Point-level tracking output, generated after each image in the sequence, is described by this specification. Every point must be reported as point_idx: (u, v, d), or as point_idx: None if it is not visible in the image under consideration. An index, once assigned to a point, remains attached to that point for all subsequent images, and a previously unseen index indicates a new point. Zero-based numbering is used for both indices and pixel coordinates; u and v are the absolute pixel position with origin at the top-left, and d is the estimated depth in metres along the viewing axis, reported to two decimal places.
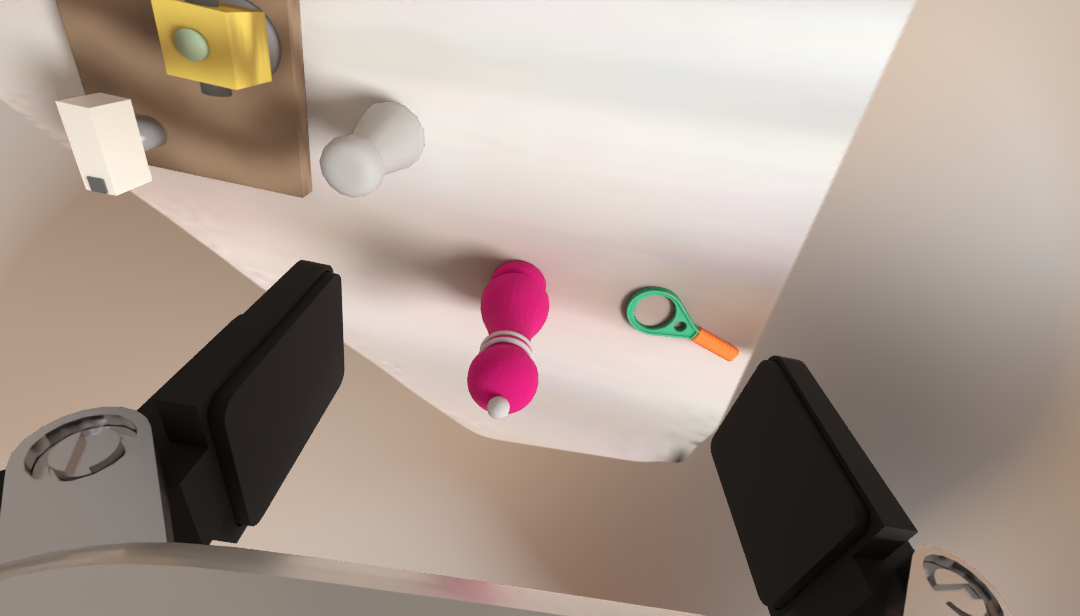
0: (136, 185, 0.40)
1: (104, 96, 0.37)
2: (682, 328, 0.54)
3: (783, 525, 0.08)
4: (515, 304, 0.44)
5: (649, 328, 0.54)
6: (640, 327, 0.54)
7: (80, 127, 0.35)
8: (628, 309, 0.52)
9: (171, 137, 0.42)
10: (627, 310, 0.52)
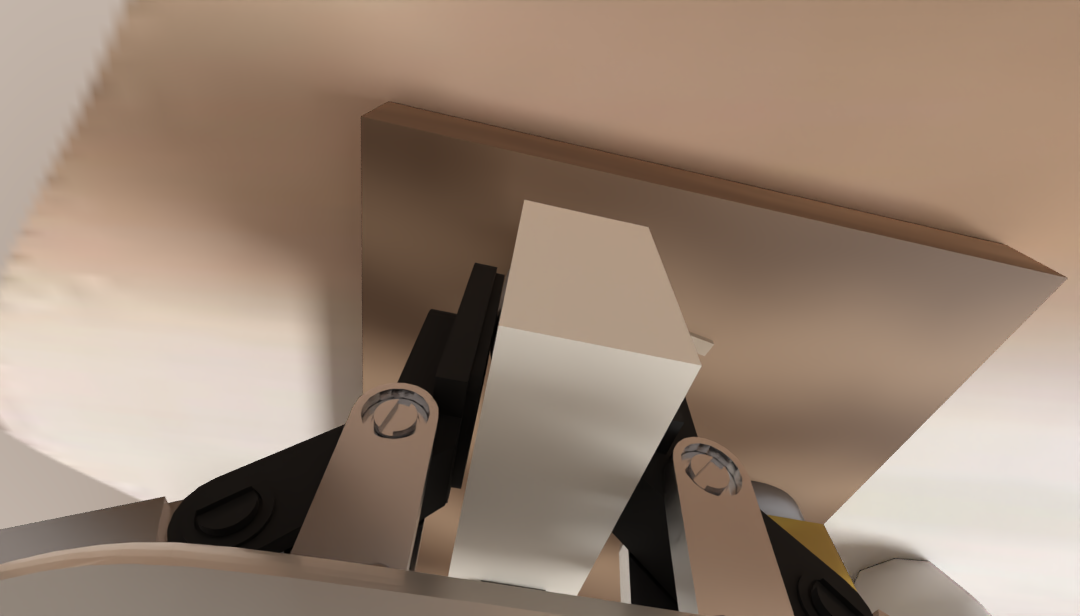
0: None
1: None
2: None
3: None
4: None
5: None
6: None
7: None
8: None
9: None
10: None
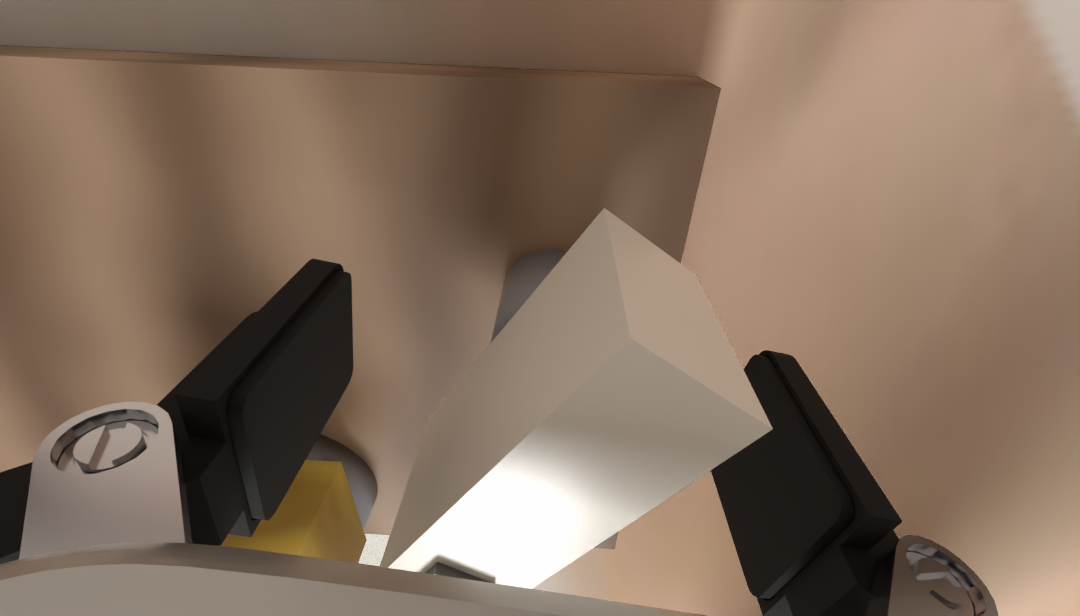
0: None
1: None
2: None
3: (773, 518, 0.08)
4: None
5: None
6: None
7: None
8: None
9: None
10: None
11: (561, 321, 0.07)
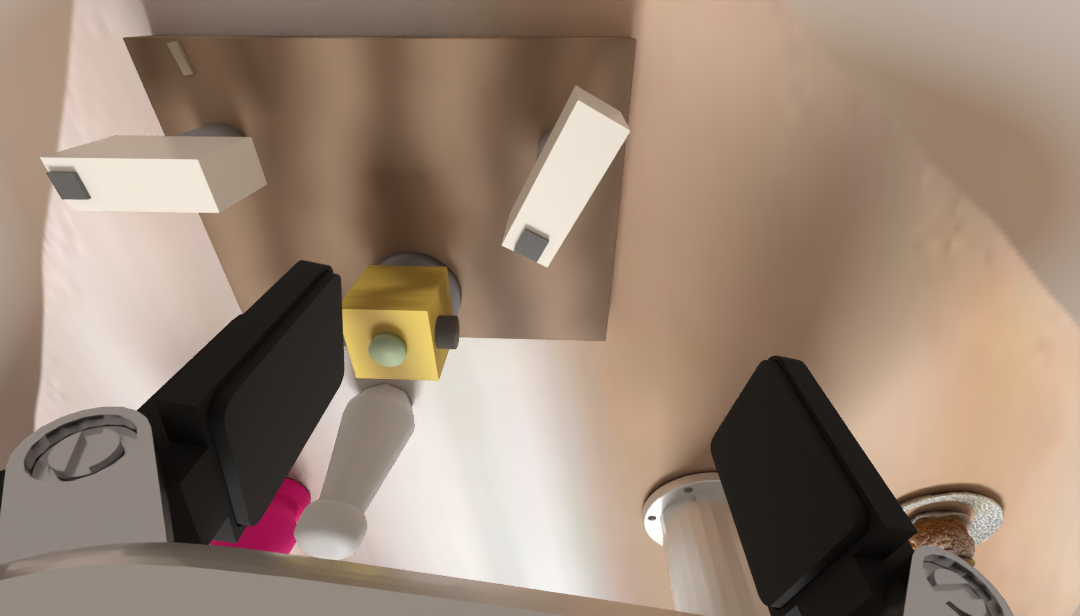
0: None
1: (249, 159, 0.23)
2: None
3: (784, 525, 0.08)
4: None
5: None
6: None
7: (172, 188, 0.20)
8: None
9: None
10: None
11: (561, 121, 0.20)
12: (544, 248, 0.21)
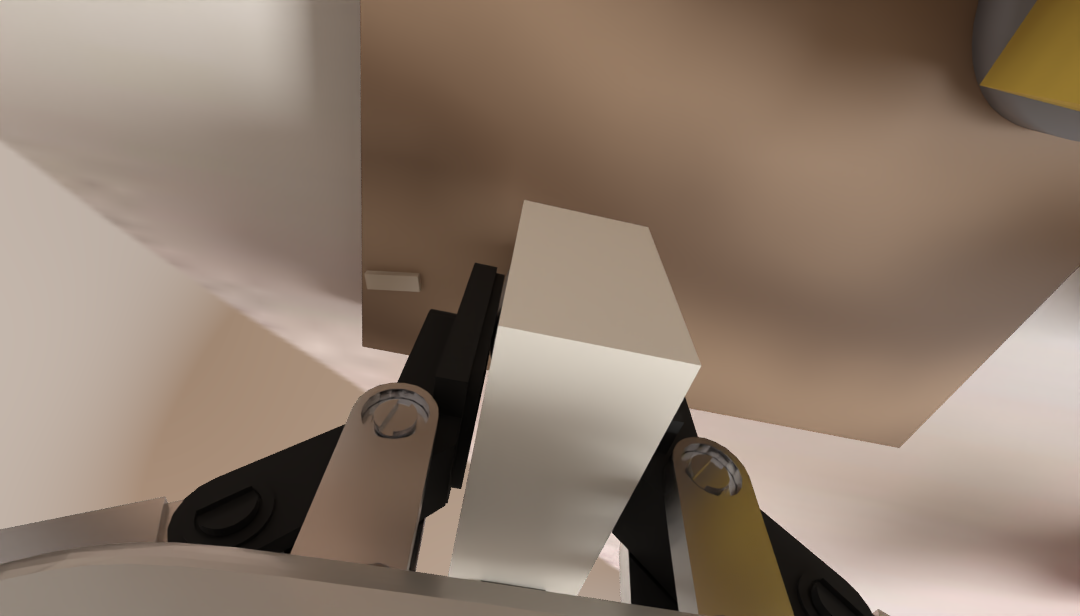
0: None
1: (572, 225, 0.08)
2: None
3: None
4: None
5: None
6: None
7: (571, 442, 0.06)
8: None
9: None
10: None
11: None
12: None
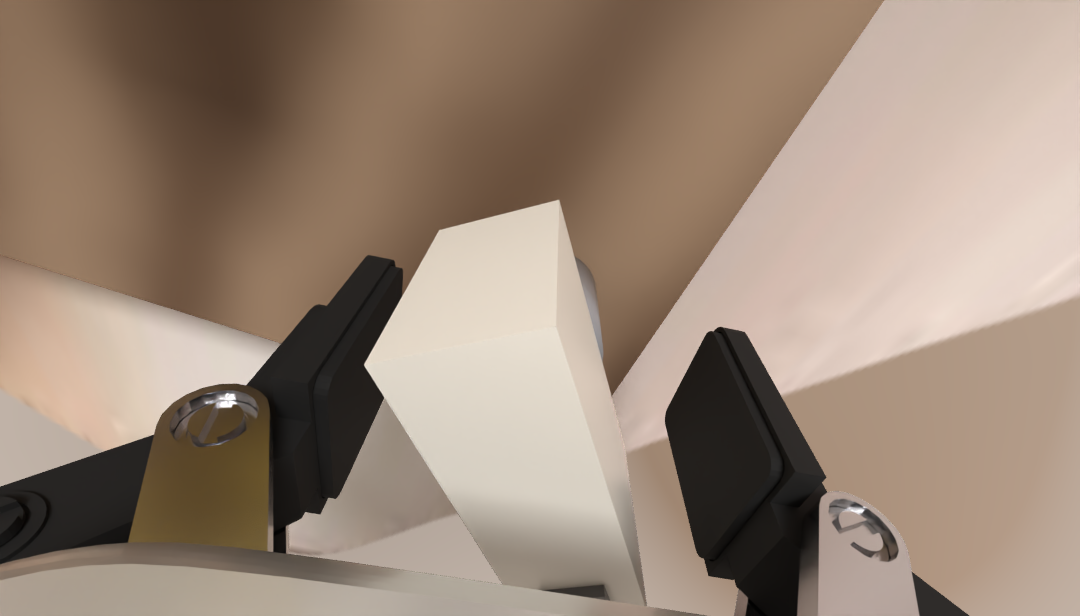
0: (632, 506, 0.10)
1: (477, 234, 0.08)
2: None
3: (718, 482, 0.09)
4: None
5: None
6: None
7: (506, 440, 0.06)
8: None
9: (579, 243, 0.12)
10: None
11: None
12: None
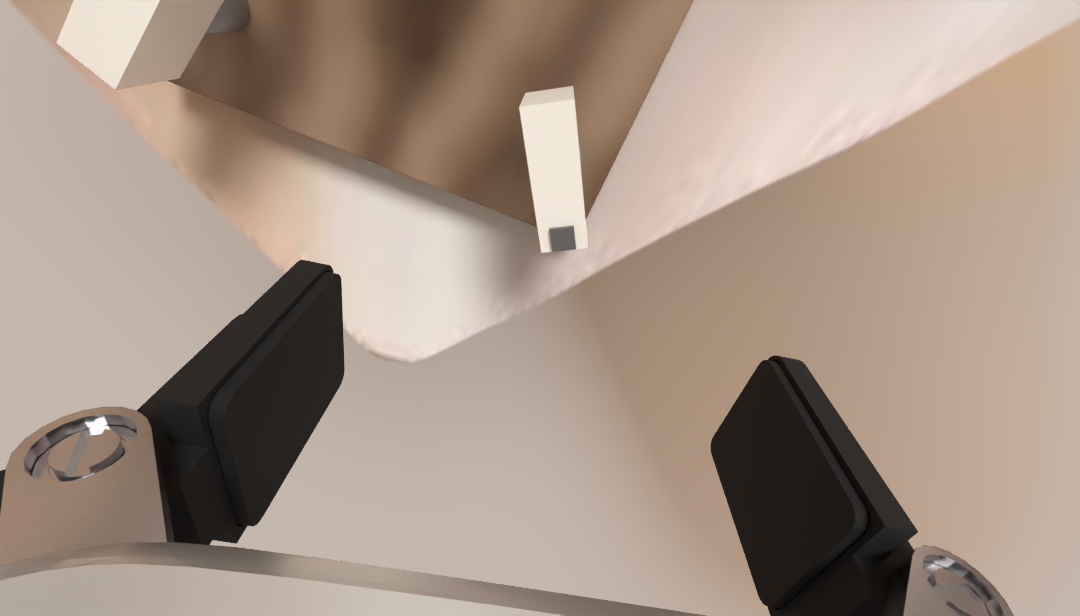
0: None
1: (543, 92, 0.22)
2: None
3: (784, 525, 0.08)
4: None
5: None
6: None
7: (553, 143, 0.20)
8: None
9: None
10: None
11: (157, 63, 0.21)
12: None
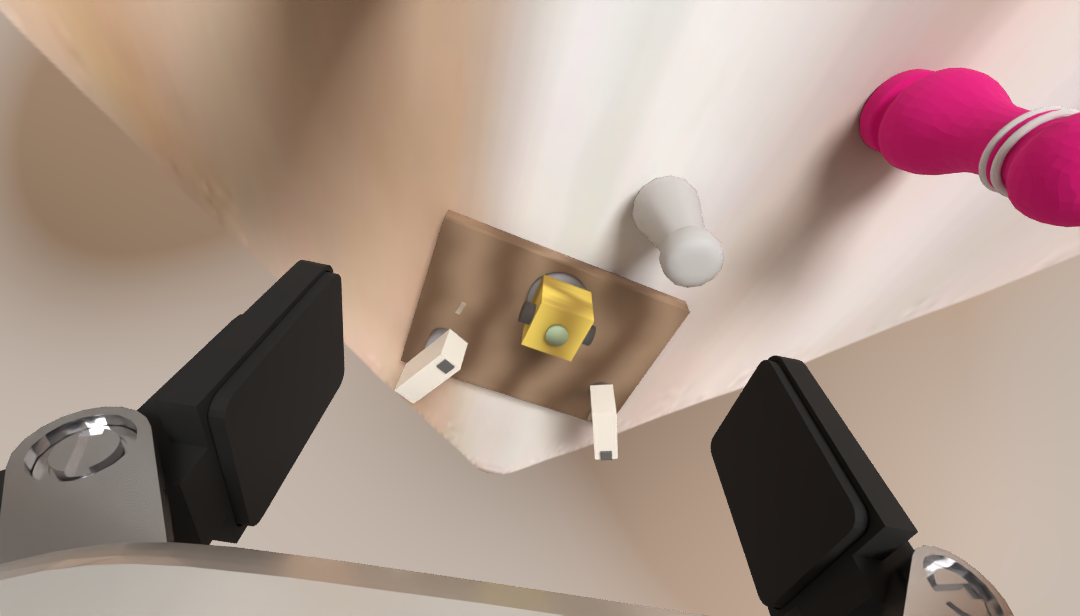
0: None
1: (599, 389, 0.48)
2: None
3: (784, 526, 0.08)
4: (943, 120, 0.30)
5: None
6: None
7: (605, 424, 0.46)
8: None
9: (608, 380, 0.52)
10: None
11: None
12: (439, 364, 0.42)
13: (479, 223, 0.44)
